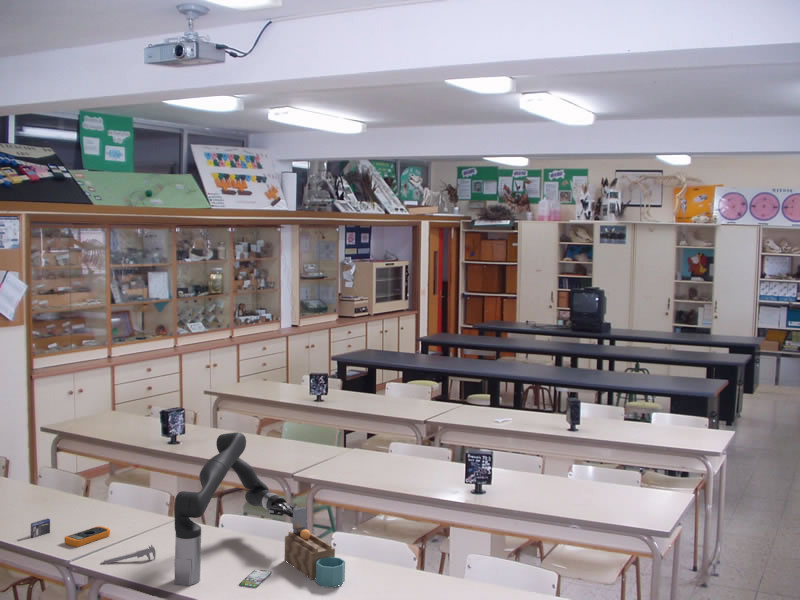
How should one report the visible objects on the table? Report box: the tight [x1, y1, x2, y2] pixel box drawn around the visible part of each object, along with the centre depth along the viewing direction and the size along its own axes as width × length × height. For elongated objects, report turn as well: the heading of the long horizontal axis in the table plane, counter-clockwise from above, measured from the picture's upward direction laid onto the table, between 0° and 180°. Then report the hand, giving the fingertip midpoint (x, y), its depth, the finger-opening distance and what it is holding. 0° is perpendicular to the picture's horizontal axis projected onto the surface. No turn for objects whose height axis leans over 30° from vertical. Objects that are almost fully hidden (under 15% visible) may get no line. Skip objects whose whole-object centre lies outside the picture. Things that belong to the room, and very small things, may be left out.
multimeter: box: [63, 525, 111, 548], centre depth 336 cm, size 9×18×3 cm, turn 150°
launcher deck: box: [283, 531, 336, 580], centre depth 314 cm, size 22×10×12 cm, turn 36°
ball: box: [300, 529, 311, 540], centre depth 316 cm, size 4×4×4 cm
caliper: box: [100, 544, 157, 565], centre depth 314 cm, size 20×1×6 cm, turn 108°
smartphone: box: [238, 568, 273, 589], centre depth 301 cm, size 7×1×15 cm
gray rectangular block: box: [292, 506, 308, 537], centre depth 320 cm, size 3×5×11 cm, turn 126°
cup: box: [315, 556, 346, 588], centre depth 301 cm, size 10×10×8 cm
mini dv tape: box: [30, 518, 51, 539], centre depth 340 cm, size 8×2×6 cm, turn 150°
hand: (293, 514), depth 325 cm, fingers closed
